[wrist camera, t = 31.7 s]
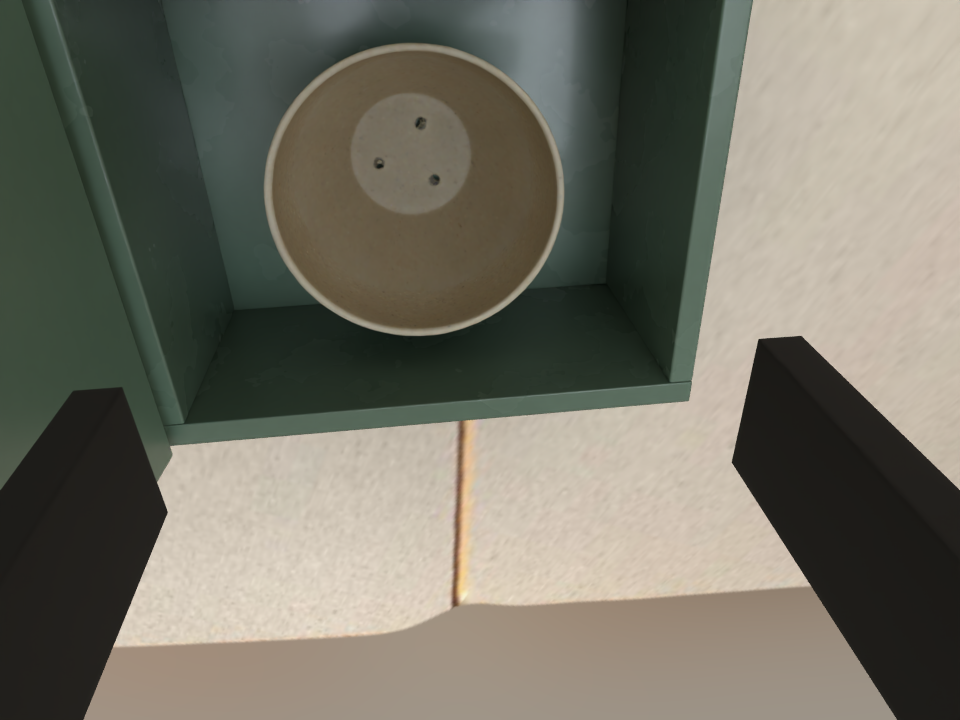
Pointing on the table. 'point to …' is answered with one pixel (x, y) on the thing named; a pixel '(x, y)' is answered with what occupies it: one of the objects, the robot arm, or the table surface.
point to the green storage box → (279, 80)
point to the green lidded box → (53, 270)
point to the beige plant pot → (414, 189)
